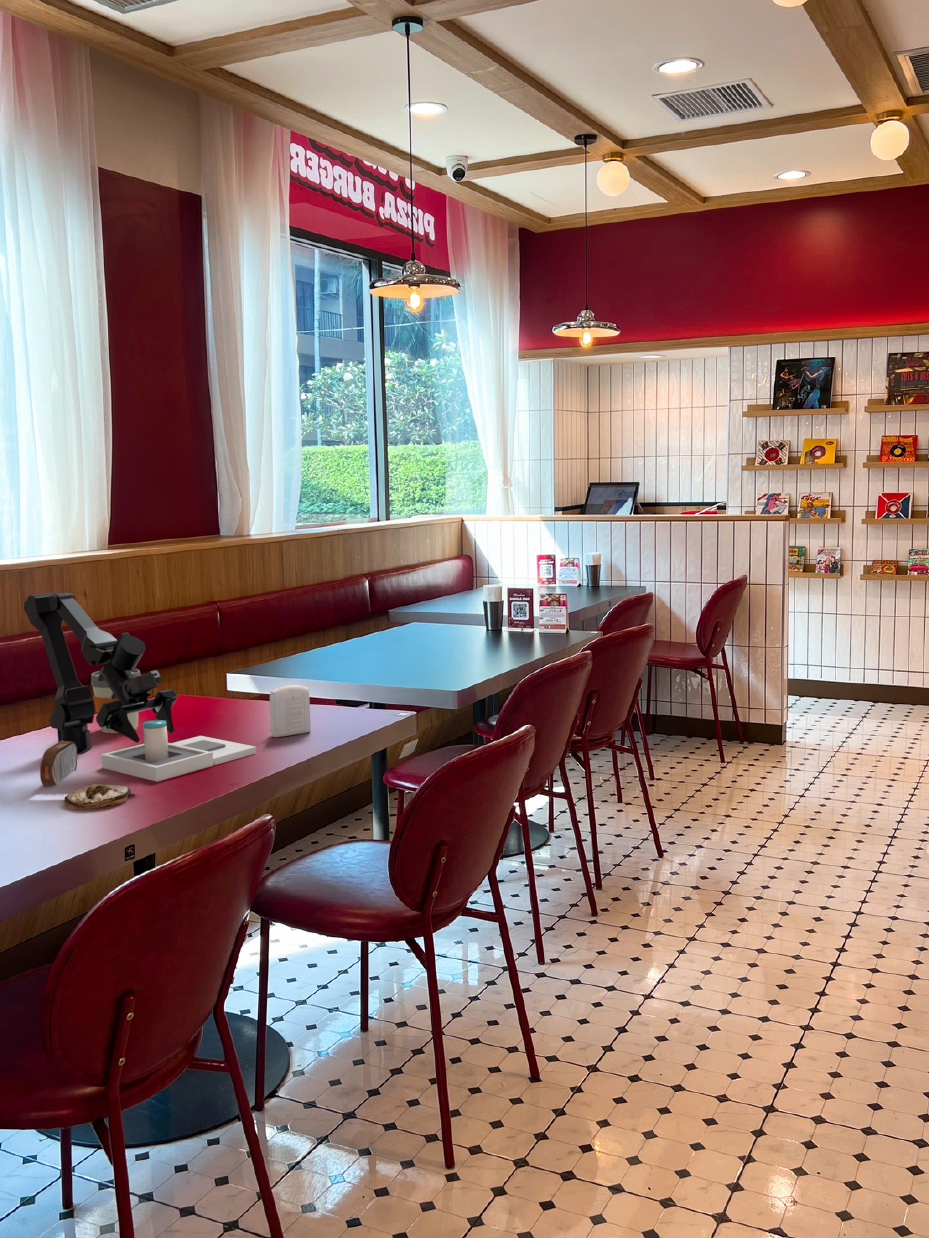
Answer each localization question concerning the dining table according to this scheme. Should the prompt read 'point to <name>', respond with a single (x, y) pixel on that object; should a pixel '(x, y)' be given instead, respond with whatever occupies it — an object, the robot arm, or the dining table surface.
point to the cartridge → (155, 740)
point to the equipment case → (176, 758)
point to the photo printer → (290, 710)
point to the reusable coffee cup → (109, 698)
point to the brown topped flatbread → (97, 797)
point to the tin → (58, 762)
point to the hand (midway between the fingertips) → (155, 736)
